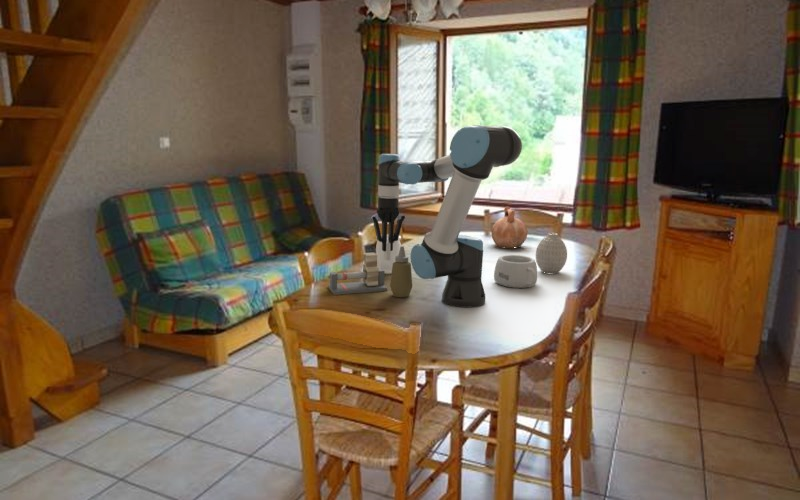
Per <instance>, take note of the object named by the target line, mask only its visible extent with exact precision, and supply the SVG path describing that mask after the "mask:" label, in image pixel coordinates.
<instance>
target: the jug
mask: <svg viewBox="0 0 800 500" xmlns="http://www.w3.org/2000/svg"><path fill="white" fill-rule="evenodd" d="M503 212H504V216H503V217H501V218H499V219H498V220H496V221H495V222H494V224H493V226H492V227H491V231H490V232H491V239H492V240H493V242H494V244H495V245H497V246H499V247H505V248H514V247H519V246H520V247H521V246H522V245H523V244H524V243H525V242H526V241H527V237H528V234H529V233H528V228H527V227H526V225H525V223H524V222H523V221H522V220H521V219H519V218H517V217H515V215H516V210H515V209H511V207H510V206H505V207H504V211H503ZM497 246H496V247H497ZM499 247H498V248H499ZM520 247H519V248H520Z"/></svg>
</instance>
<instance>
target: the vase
mask: <svg viewBox="0 0 800 500" xmlns="http://www.w3.org/2000/svg"><path fill="white" fill-rule="evenodd" d="M567 249H568V248H567V246H566V244H565V242H564V241H563V239H562V238H561V237H560V236H559V234H558V233H556V232H548V233H547V235H546V236H544V237H543V238H542V239H541V240H540V241H539V243H538V245H537V246H536V250H535V262H536V266H537V267H538V268H539V270H540V271H541V272H542V271H543V272H545V273H544V274H546V273H557V274H558V273H559V272H561V271H562V269H563V268H564V267H565V265H566V263H567V260H568V250H567ZM543 272H542V273H543Z"/></svg>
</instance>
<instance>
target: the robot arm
mask: <svg viewBox="0 0 800 500" xmlns="http://www.w3.org/2000/svg"><path fill="white" fill-rule="evenodd" d="M522 148H523V143H522V139H521V137H520V135H519V134H518V132H517V131H516V130H514V129H513V128H511V127H508V126H506V125H505V126H503V125H500V126H498V125H496V126H495V125H494V126H491V125H490V126H489V125H478V124H477V125H476V124H474V125H468V126H463V127H462V128H460V129H459V130H458V131H456V132H455V134H454V135H453V136H452V138H451V141H450V145H449V151H450V152H449V154H448V155H446V156H442V157H438V158H437V159H436V158H435V159H433V160H425V161H424V160H423V161H421V160H420V161H418V160H417V161H416V160H414V161H412V160H411V161H402V160H400V159H401V158H400V155H399V154H397V153H396V154H395V153H381V154H380V155H379V156H378V164H377V167H378V168H377V169H378V172H377V173H378V174H377V175H378V181H377V182H378V185H377V186H378V188H377V189H378V191H377V195H378V196H379V197H378V198H377V210H376V213H375V214H373V215H371V216H370V219H371V220H372V221H371V222H373V227H374V230H375V235H376V236H377V239H376V240H377V241H380V242H382V251H384V259H385V260H390V251H392V250H393V243H394V241H397V240H398V237H399V236H400V234H401V229H402V226H403V222H404V220H405V219H406V216H405V215H404V214H402V213H401V212H400V210H399V204H400V203H399V198H400V197H399V195H400V188H399V187H400V184H405V185H416V184H419V183H420V184H421V183H435V182H436V183H442V182H447V181H448V180H449V178H450V181H449V184H448V187H447V189H446V192H445V195H444V196H443V200H442V203H441V205H440V208H439V211H438V213H437V215H436V218H435V221H434V224H433V226H432V229H431V231H428V232H426V233H425V235H424V237H423V239H422V241H421V244H420V243H417V244H415V245H413V246H412V248H411V250H410V263H411V268H412V269H413V271H414V273H415V274H416V276H418V277H419V278H420V279H422V280H429V279H431V280H433V279H439V278H441V277H447V281H446V283H445V285H444V288H443V290H442V292H441V293H442V294H441V301H442V302H443V303H445V304H447V305H449V306H453V307H457V308H476V307H480V306H483V305H485V303H486V293H485V289H484V286H483V283H482V273H483V272H482V271H483V261H484V260H483V259H484V242H483V240H482V239H481V238H479V237H476V236H470V235H463V234H460V233H461V231H462V229H463V226H464V223H465V220H466V219H467V215H468V213H469V211H470V209H471V207H472V204H473V202H474V199H475V197H476V194H477V192H478V191H479V190H478V189H479V187H480V185H481V182H482V181H484V180H486V179H488V178H489V177H490V174H491V172H492V169H493V168H498V167H501V166H502V167H504V166H509V165H511V164H513V163H514V162H515V161H516V160H517V159H519V157H520V155H521V153H522ZM379 219H380V221H381V228H380V224H379V221H378V220H379ZM395 221H396V225H395ZM394 225H395V227H394ZM381 234H382V237H381ZM387 234H388V241H389V242H387Z"/></svg>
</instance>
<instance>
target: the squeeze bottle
mask: <svg viewBox="0 0 800 500" xmlns="http://www.w3.org/2000/svg"><path fill="white" fill-rule="evenodd" d="M412 275H413V274H412V263H411V262H410V261H409V256H408V255H406V250H405V246H404V245H401V247H400V251H399V255H398V256H395V262H394V263H393V266H392V274H391V275H390V285H389V287H390V289H391V292H392V293H391V294H392V296H393V297H396V298H406V297H407V298H408V297H409V296H410V294H411V291H412V288H413V278H412V277H413V276H412Z"/></svg>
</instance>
